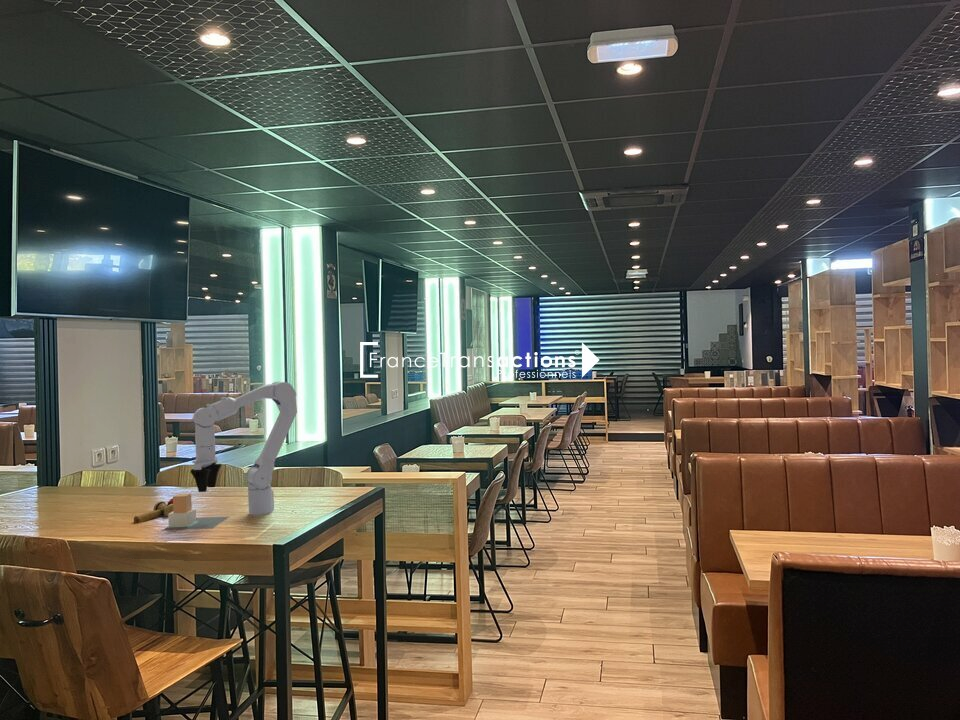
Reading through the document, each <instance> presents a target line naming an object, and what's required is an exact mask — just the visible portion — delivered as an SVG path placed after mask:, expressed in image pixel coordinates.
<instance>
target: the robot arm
mask: <svg viewBox="0 0 960 720" xmlns="http://www.w3.org/2000/svg"><path fill="white" fill-rule="evenodd" d="M296 397H297V392H296V390H295V389H294V387H293V385H292V384H291V382H290V383H289V382H287V381H282V382H281V381H274V382H272V383H268V384H264V385H262V386H259V387H256V388H255V389H252V390H251V391H248V392H247V393H244V394H242V395H240V396H237V397H235V398H234V397H230V396H228V397H226V396H222V397H221V398H220V400H218V401H215V402H214V403H211V404H210V403H207V404H206V407H200V408H198V409H197V410H195V412H194V413H193V415H192V421H193V423H194V424H195V425H194V428H195V432H194V438H195V440H194V441H195V460H192V461H191V462H192V464H193V468H192V469H190V474H192V477H193V478H194V481H195V483H196V484H195V485H196V486H197V487H196V488H197V490H198V492H199V493H205V492H207V491H208V490H207V489H208V488H215V487H216V485H217V479H218V474H219V472H220V469H221V467H222V464H221V463H218V456H217V455H216V439H215V438H216V436H215V435H216V434H215V423H216V422H219V421H222V420H224V419H226V418H228V417H231V416H233V415H236V414H237V413H238V410H239V409H240V408H241V407H244V406H246V405H249V404H252V403H254V402H257V401H260V400H261V399H270V400H272V401H273V402H274V403H275V404H276V407H277V409H278V411H279V414H278V416H277V418H276V420H275V422H274V425H273V427H272V429H271V431H270V433H269V435H268V437H267V440H266V442H265V444H264V446H263V448H262V449H261V450H262V451H260V452H261V453H260V455H258V458H257V459H255V461H254V463H253V464H252V466H250V468H248V470H247V471H246V474H245V475H246V476H245V478H246V481H247V482H248V483H249V485H248V486H247V495H248V497H247V498H248V499H247V500H248V515H249V516H263V515H269V514H271V513H273V511H274V510H275V499H274V497H275V496H274V495H275V494H274V490H273V489H272V485H271V483H272V481H273V472H274V470H275V461H276V460H277V457H278V455H279V453H280V451H281V448H282V446H283V444H284V441H285V440H286V437H287V435H288V433H289V430H291V428H292V427H291V426H292V425H293V423H294V420H295V417H296V415H297V413H298V408H297V399H296Z"/></svg>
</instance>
